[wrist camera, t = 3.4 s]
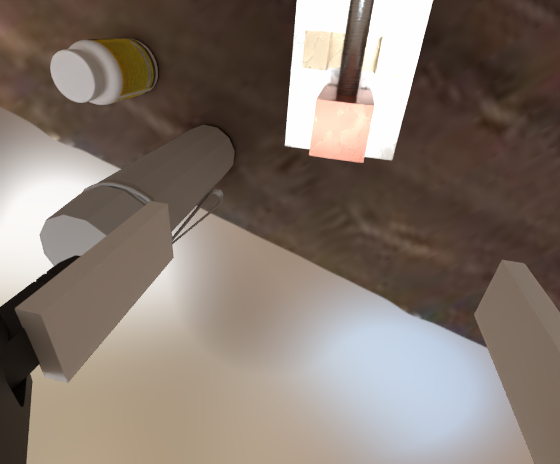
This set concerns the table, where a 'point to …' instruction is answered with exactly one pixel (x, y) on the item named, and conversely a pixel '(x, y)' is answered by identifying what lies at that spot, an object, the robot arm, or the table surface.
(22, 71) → the table surface
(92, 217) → the water bottle
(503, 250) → the table surface
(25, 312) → the robot arm
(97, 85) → the pill bottle
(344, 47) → the mallet
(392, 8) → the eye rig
